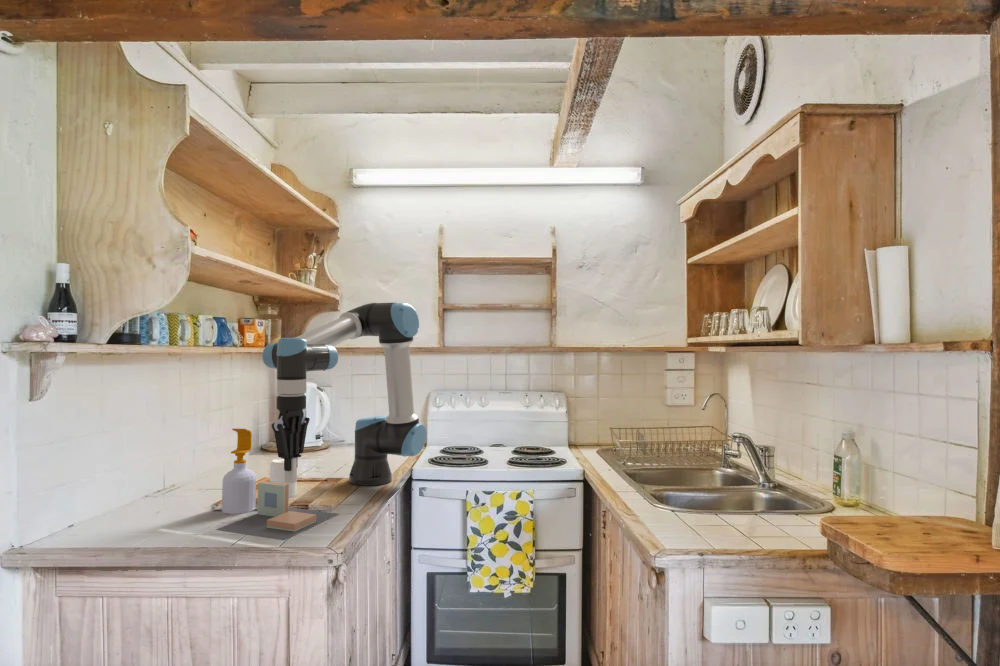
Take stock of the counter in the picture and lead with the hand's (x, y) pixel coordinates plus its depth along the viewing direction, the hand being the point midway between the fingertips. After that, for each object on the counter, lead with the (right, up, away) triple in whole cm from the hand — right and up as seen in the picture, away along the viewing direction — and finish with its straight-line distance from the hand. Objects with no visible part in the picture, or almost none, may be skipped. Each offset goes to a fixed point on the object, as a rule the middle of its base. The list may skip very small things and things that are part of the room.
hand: (290, 481), depth 158 cm
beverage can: (-13, -13, +30) cm, 35 cm away
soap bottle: (-21, -13, +15) cm, 28 cm away
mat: (-4, -13, +4) cm, 14 cm away
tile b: (-9, -12, +10) cm, 18 cm away
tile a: (+1, -11, +5) cm, 12 cm away
